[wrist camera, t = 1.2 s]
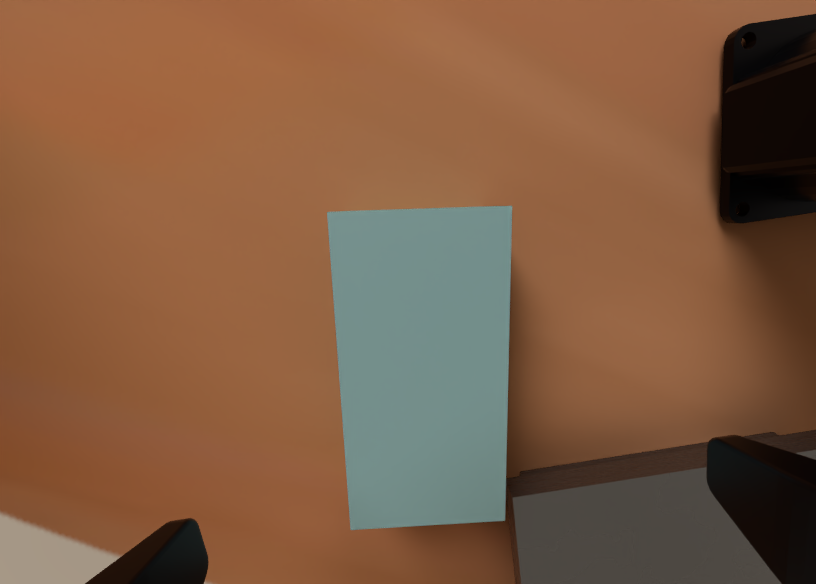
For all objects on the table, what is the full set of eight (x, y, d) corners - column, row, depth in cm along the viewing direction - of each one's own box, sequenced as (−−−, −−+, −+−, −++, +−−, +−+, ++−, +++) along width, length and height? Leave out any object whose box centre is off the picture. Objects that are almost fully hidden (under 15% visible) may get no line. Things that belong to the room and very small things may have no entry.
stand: (797, 407, 17) (867, 441, 14) (784, 579, 18) (844, 636, 16) (494, 454, 16) (512, 497, 14) (513, 623, 18) (531, 687, 16)
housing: (479, 206, 15) (512, 205, 11) (478, 447, 17) (505, 520, 13) (344, 211, 14) (326, 212, 10) (360, 453, 16) (350, 529, 13)
